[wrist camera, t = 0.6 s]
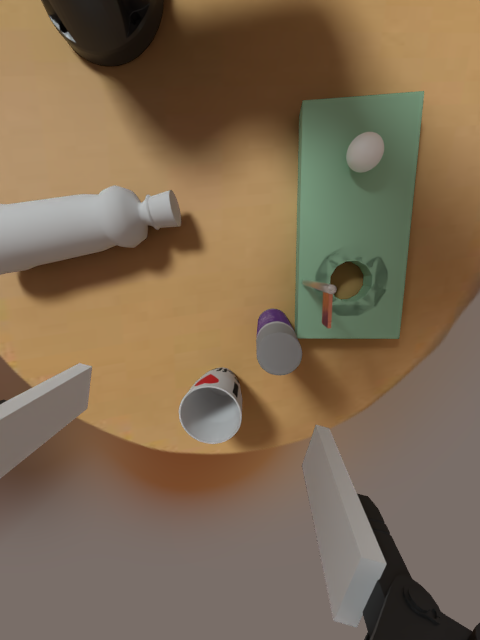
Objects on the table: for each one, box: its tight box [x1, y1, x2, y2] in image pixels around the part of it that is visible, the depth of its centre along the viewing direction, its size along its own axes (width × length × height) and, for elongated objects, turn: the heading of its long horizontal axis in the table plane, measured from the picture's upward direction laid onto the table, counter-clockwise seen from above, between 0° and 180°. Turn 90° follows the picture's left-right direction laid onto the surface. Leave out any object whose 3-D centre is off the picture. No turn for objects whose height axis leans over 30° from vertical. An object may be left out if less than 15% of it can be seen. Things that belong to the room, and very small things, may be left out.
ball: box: [346, 132, 384, 173], centre depth 30 cm, size 4×4×4 cm
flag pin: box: [302, 279, 337, 328], centre depth 28 cm, size 4×1×14 cm, turn 1°
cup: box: [179, 368, 242, 444], centre depth 37 cm, size 8×8×10 cm
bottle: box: [0, 185, 181, 274], centre depth 35 cm, size 9×9×30 cm
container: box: [256, 309, 302, 375], centre depth 32 cm, size 5×5×15 cm
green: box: [295, 91, 424, 339], centre depth 35 cm, size 30×14×3 cm, turn 1°
